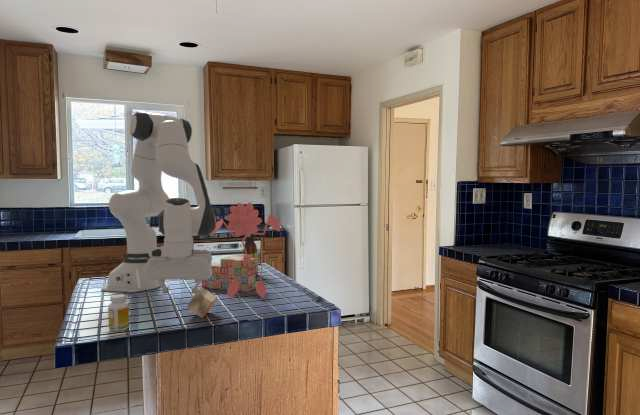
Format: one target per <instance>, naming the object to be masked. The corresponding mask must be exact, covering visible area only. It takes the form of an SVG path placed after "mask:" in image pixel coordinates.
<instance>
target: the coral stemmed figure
mask: <svg viewBox="0 0 640 415" xmlns="http://www.w3.org/2000/svg"><path fill="white" fill-rule="evenodd" d="M236 204H237V205H231V206H230V207H229V211H230V214H227V215H226V217H225V220H226V221H228V224H227V223H226V221H224V219H223V218H221V219H220V220H218V221H216V228H215V230H214V231H213V232H212V233H211V234H209V236H213V235H214V234H216V233H217V232H218V231H219V230H220V229H221V227H222V226H223V225H224V226H225V227H226V228H227V230H228V231H229V233H231V234H232V236H233V237H234V238H236V237H237V238H238V237H240V236H244V238H242V241H241V243H242V246H243V249H244V250H245V253H246V255H244V256H242V257H243V259H242V260H244V261H245V262H249V261H250V260H251V257H250V255H248V254H247V252H246V249H245V239H246V237H250V236H251V234H254V235H259V236H261V235H262V236H265V234H266V231H267V227H268V226H269V227H271V228H272V229H273V230H275V231H277V232H278V233H279V232H280V231H281V223H280V221H279V220H278V219H277V217H275V216H274V215H270V214H268V216H267V221H266V224H265V228H264V230H263V232H259V228H258V225H260V224H261V223H262V222H263V219H262V218H261V217H258V216H259V213H260V212H259V210H258V209H254V205H253V203H252V202H248V203H247V204H246V205H245V204H243V203H241V202H237V203H236ZM232 230H233V231H232ZM242 260H240V261H242ZM240 261H238V262H240ZM251 261H254V260H251ZM238 262H236V263H238ZM254 262H256V261H254ZM236 263H234V264H236ZM256 263H258V265H261V266H260V267H261V268H260V275H259V276H260V277H259V280H258V281H256V288H255V291H256V293H257V295H258V296H259V297H261V299H264V298H265V296H266V293H267V287H266V284H265V283H264V282H263V281H262V276H263V275H262V273H263V266H264V265H263V263H261V262H259V261H258V262H256ZM234 264H233V273H234ZM238 288H239V283H238V281H236V280H235V273H234V281H233V282H232V283H231V284H230V285H229V287H228V290H226V294H227V298H228V300H229V299H231V298H232V297H233V296H234V295H236V296H239V291H237V290H238ZM221 295H223V292H222V293H221ZM270 303H271V301H269V302H266V303H264V305H266V304H270ZM227 305H228V306H229V304H227ZM262 305H263V304H262V303H261V304H253V305H250V307H254V306H262ZM231 306H233V307H237V305H235V304H234V305H233V304H231ZM240 307H242V308H243V305H240Z"/></svg>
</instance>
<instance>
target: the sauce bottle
mask: <svg viewBox="0 0 640 415" xmlns="http://www.w3.org/2000/svg"><path fill="white" fill-rule="evenodd" d="M254 235H255V234H251V236H250V237H246V239H245V240H244V245H245V249H246V252H247V254H248V255H250V257H251V258H255V261H256V262H259V260H258V259H259V257H258V256H259V254H258V248H257V244H256V243H255V238H254ZM242 249H243V251H242V253H243V254H242V257H244V255H246V253H245V250H244V248H242ZM256 262H255V266H256V273H255V274H256V276H257V277H258V275H259V264H258V263H256Z"/></svg>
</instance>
